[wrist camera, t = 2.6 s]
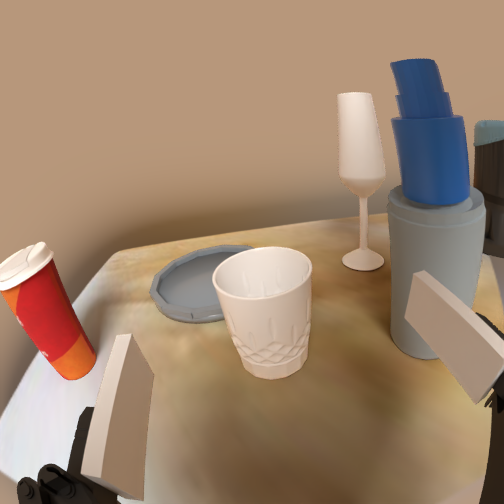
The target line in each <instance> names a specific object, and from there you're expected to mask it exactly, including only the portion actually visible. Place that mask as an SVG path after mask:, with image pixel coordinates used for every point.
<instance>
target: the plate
mask: <svg viewBox="0 0 504 504" xmlns="http://www.w3.org/2000/svg"><path fill="white" fill-rule="evenodd" d="M250 249H254V248H253V247H251V246H246V245H220V246H215V247H210V248H205V249H200V250H197V251H193V252H191V253H189V254H187V255H184V256H182V257H180V258H178V259H175V260H173V261H171V262H170V263H169V264H168V265H167V266H165V267H164V268H163V269H162V270H161V271H160V272H158V273H157V274H156V275H155V276H154V279H153V282H152V285H151V289H150V292H149V293H150V296H151V298H152V299H153V301H154V302H155V304H156V306H157V308H158V310H159V311H160V312H161V313H162V314H163V315H165V316H166V317H168V318H170V319H172V320H175V321H179V322H184V323H195V324H197V323H210V322H216V321H221V320H225V318H224V315H223V312H222V309H221V306H220V303H219V300H218V297H217V294H216V291H215V288H214V285H213V281H212V276H213V273H214V271H215V269H216V268H217V267H218V266H219V265H220V264H221V263H222V262H223V261H224V260H226V259H227V258H229V257H231V256H233V255H235V254H237V253H240V252H243V251H246V250H250Z"/></svg>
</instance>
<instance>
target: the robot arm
mask: <svg viewBox="0 0 504 504" xmlns="http://www.w3.org/2000/svg"><path fill="white" fill-rule="evenodd" d="M474 146H475V165H474V183H473V187H474V188H476V189H477V190H479V191H480V192H481V193H482V195H483V197H484V205H485V208H486V221H485V234H484V244H483V252H484V253H486V254H489V255H492V256H496V257H500V258H504V121H497V120H484V121H483V120H482V121H478V122H477V123H476V125H475V129H474ZM404 318H405V319H406V320H407V321H408V322H409V323H410V325H411V326H412V327H413V328H414V329H415V330H416V331H417V332H418V334H419V335H420V336H421V337H422V338H423V339H424V341H425V342H426V343H427V344H428V345H429V346H430V348H431V349H432V350H433V351H434V352H435V354H436V355H437V356H438V357H439V358H440V360H441V361H442V362H443V363H444V365H445V366H446V367H447V368H448V370H449V371H450V372H451V373H452V375H453V376H454V377H455V378H456V380H457V381H458V382H459V384H460V385H461V386H462V387H463V389H464V390H465V391H466V393H467V394H468V395H469V397H470V398H471V399H472V401H473V402H474V404H475V405H476V404H477V403H478V402H480V401H481V400H482V399H483V398H485V397H486V396H487V394H488V393H489V392H490V390H491V389H492V388H493V389H494V392H493V393H492V394H491V396H490V397H489V398H488V400H487V401H486V403H485V406H484V407H487V406H488V404H489V403H490V402H491V401H492V402H491V404H490V405H489V407H492V423H491V438H490V448H489V456H488V463H487V469H486V475H485V480H484V486H483V490H482V494H481V498H480V502H479V504H504V334H503V333H502V332H501V331H500V330H498V328H497V327H496V326H495V325H493V323H492V322H490V321H489V320H488V319H487V318H486V317H485V316H483V315H481V314H479V313H477V312H476V313H474V312H473V311H472V310H471V309H470V308H469V307H468V306H467V305H465V304H464V303H463V302H462V301H461V300H460V299H459V298H457V297H456V296H455V295H454V294H453V293H452V292H450V291H449V290H448V289H447V288H446V287H444V286H443V285H442V284H441V283H440V282H438V281H437V280H436V279H435V278H433V277H432V276H431V275H430V274H429V273H427V272H426V271H425V270H423V271H420V272H417V273H414V274H413V279H412V284H411V289H410V294H409V299H408V304H407V308H406V312H405V317H404ZM153 379H154V373H153V372H152V370H151V368H150V367H149V365H148V363H147V361H146V359H145V358H144V356H143V354H142V352H141V350H140V348H139V347H138V345H137V343H136V341H135V339H134V337H133V335H132V334H124V335H117V336H116V339H115V342H114V345H113V348H112V351H111V354H110V357H109V360H108V363H107V366H106V369H105V372H104V376H103V379H102V382H101V386H100V389H99V393H98V396H97V400H96V404H95V407H86V408H85V410H84V411H83V412H82V414H81V415H80V417H79V421H78V425H77V430H76V432H75V436H74V437H75V439H74V441H73V445H72V449H71V454H70V459H69V464H68V469H67V472H66V471H65V470H63V469H62V468H60V467H59V466H57V465H56V464H47V465H44V466H43V467H42V468H41V469H40V471H39V473H38V478H37V481H38V482H36V481H35V480H33V479H31V478H30V477H24V478H22V479H21V480H20V481H19V482H18V486H17V494H18V500H19V504H121V503H120V502H119V501H118V500H117V495H119V496H121V497H123V498H125V499H133V500H141V501H144V473H145V455H146V442H147V431H148V420H149V411H150V402H151V394H152V387H153Z"/></svg>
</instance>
